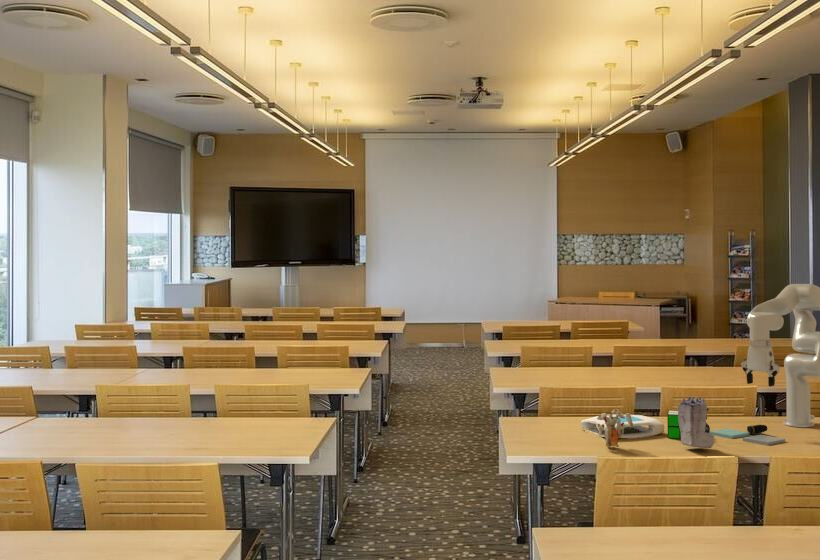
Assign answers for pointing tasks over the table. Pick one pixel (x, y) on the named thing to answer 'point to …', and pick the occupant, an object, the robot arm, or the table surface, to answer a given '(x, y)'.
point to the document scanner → (637, 421)
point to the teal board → (729, 433)
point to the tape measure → (756, 429)
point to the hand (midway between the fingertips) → (760, 384)
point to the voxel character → (613, 427)
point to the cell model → (694, 423)
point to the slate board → (764, 439)
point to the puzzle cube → (673, 425)
